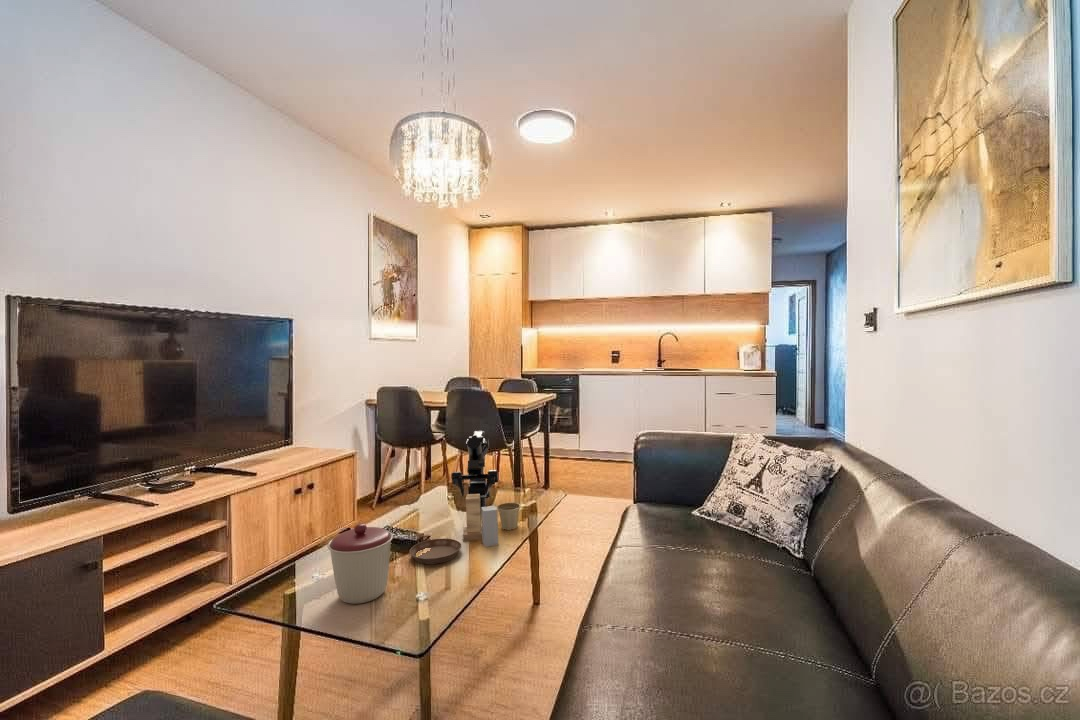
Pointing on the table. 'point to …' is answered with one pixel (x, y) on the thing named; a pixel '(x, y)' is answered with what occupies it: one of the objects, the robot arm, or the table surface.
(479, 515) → the oak pillar
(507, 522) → the flower pot
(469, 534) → the walnut block
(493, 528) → the grey pillar
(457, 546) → the plant saucer
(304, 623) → the table surface
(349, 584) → the canister
